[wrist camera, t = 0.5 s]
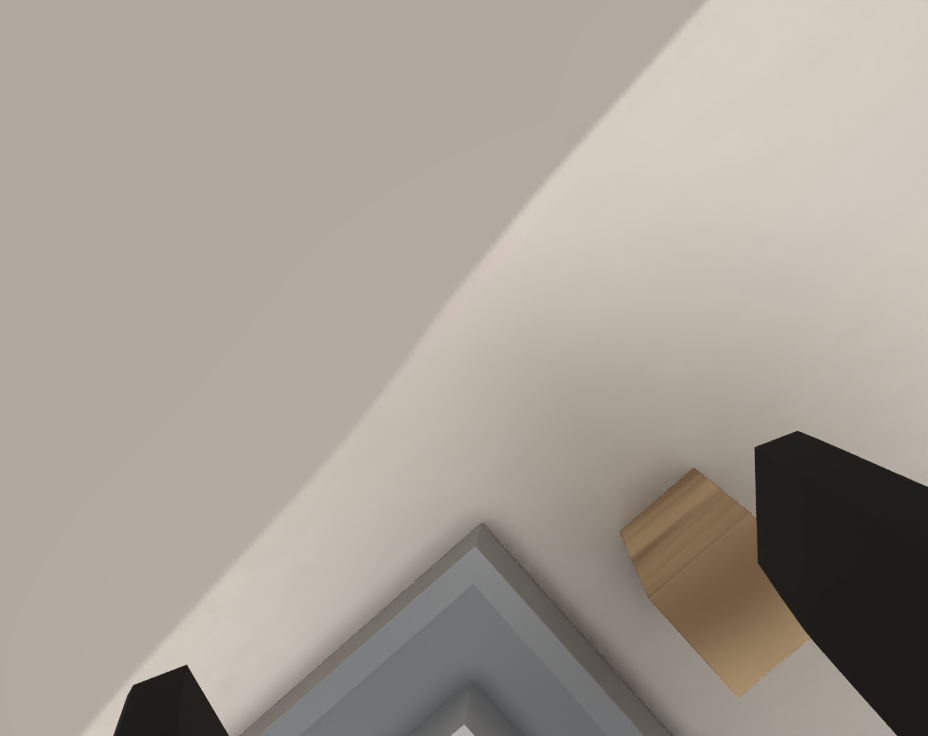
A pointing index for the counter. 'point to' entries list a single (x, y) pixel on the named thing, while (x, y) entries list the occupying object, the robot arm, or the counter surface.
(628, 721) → the socket box
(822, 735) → the counter surface
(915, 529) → the robot arm
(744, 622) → the peg
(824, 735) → the counter surface
